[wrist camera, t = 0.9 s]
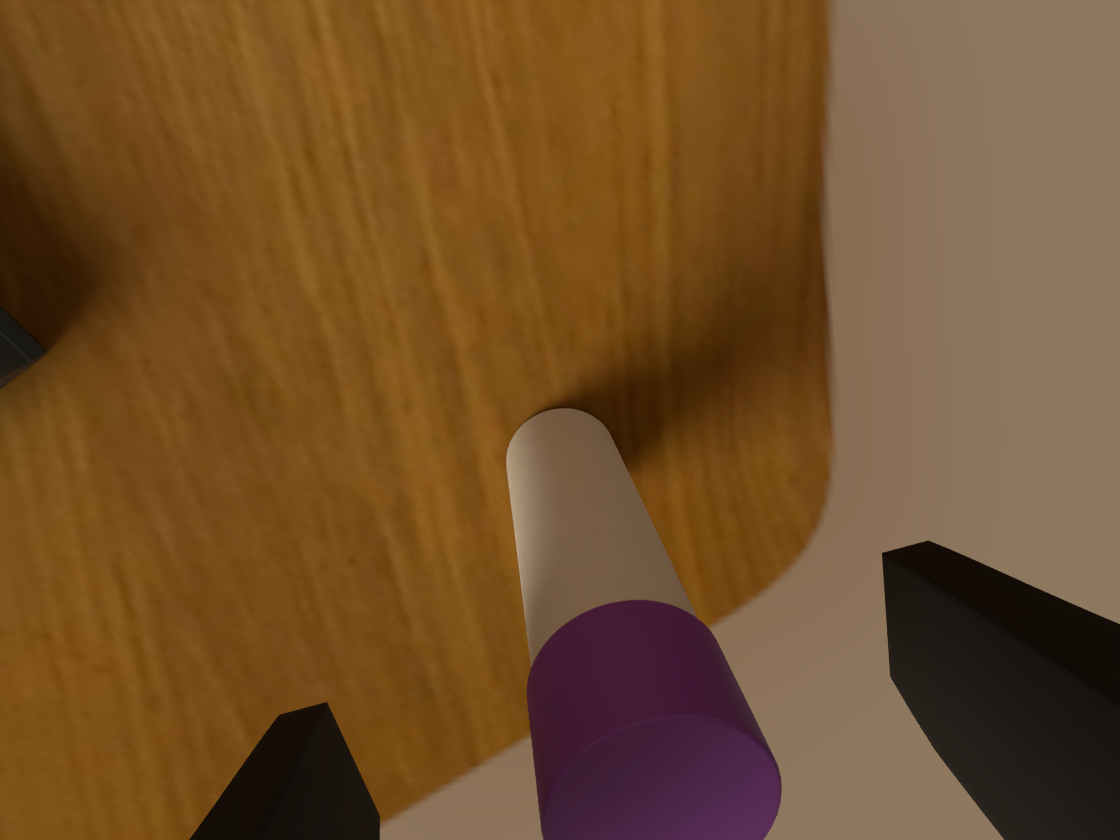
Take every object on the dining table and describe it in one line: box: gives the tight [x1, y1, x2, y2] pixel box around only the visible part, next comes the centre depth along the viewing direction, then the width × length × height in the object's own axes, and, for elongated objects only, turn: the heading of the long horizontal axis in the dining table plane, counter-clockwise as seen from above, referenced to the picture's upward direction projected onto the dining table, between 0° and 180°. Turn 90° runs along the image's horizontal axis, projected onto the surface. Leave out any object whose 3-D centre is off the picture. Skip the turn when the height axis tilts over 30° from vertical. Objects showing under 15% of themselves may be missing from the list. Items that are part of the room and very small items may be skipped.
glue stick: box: [506, 408, 781, 840], centre depth 12 cm, size 3×3×9 cm
